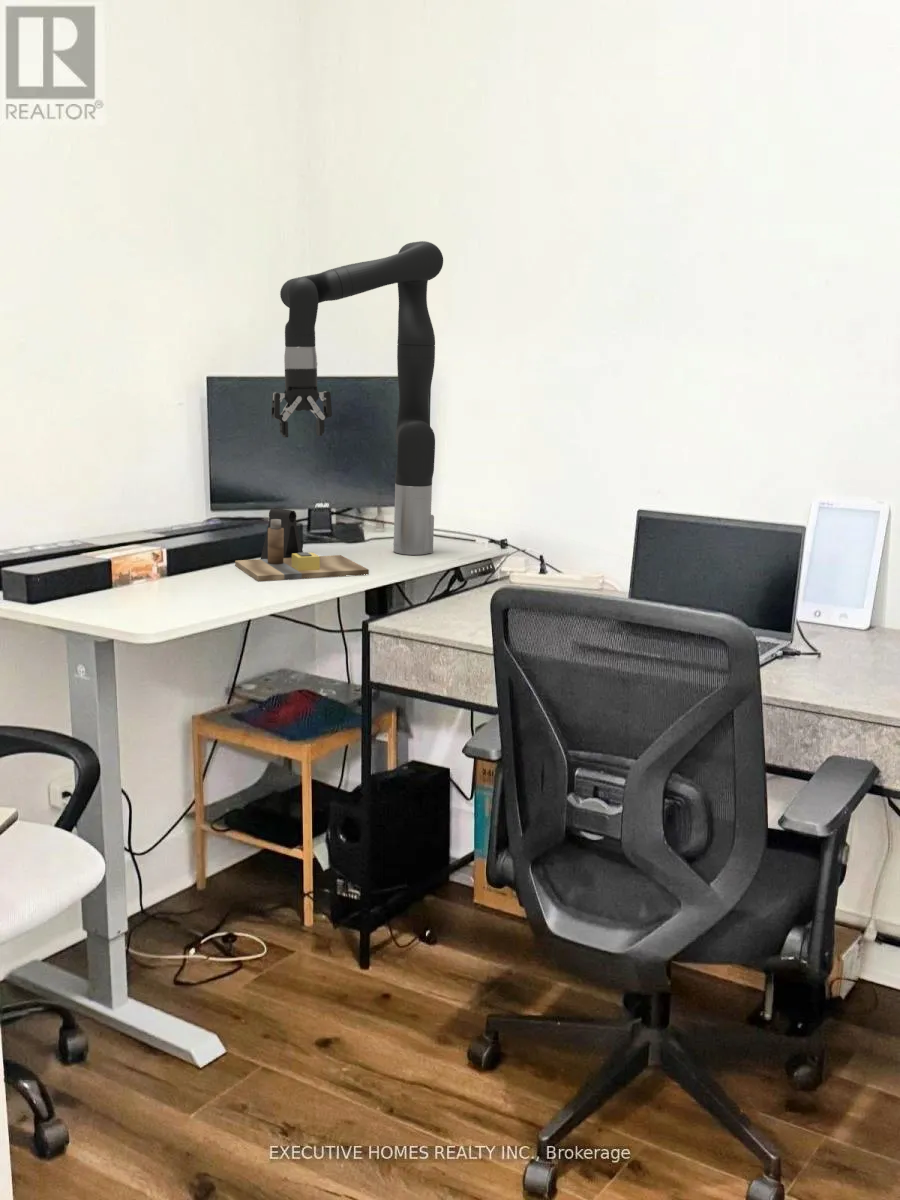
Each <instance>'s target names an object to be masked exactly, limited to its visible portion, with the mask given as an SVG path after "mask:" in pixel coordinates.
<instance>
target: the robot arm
mask: <svg viewBox="0 0 900 1200" xmlns="http://www.w3.org/2000/svg"><path fill="white" fill-rule="evenodd" d="M443 266H444V255H443V253H442V251H441V249H440V247H438V246H437V245H436V244H434V243H432V242H429V241H427V240H426V241H425V240H422V241H421V240H420V241H413V242H409V243H406V244H405V245H403V246H401V248H400V249H399V251H398V253H396V254H393V255H390V256H386V257H381V258H378V259H372V260H366V261H361V262H356V263H351V264H346V265H341V266H337V267H334V268H331V269H328V270H324V271H322V272H319V273H315V274H309V275H305V276H299V277H294V278H291V279H288V280H287V281H286V282H284V283H283V284H282V286H281V289H280V291H279V292H280V293H279V295H280V300H281V302H282V303H283V304H284V305H285V306H286V307H287V308H288V310H289V311H288V320H287V322H286V323H285V325H284V346H285V347H284V355H283V356H284V361H283V363H284V389H285V390H284V393H283V392H275V391H274V392H272V393H271V414H270V415H271V418H272V419H276V420H278V421H279V433H280V435H281V436H282V437H283V438H286V439H287V438H289V422H288V419H289V417H291V415H292V414H293V413H294V411H295V412H301V411H310V412H311V413H312V414H313V415H314V416H315V417H316V420H315V429H316V430H315V431H316V436H318V437H322V436H323V434H325V420H326V419H328V418H331V417H332V416H333V412H332V411H333V410H332V397H331V392H330V391H326V390H323V391H321V392H320V391H318V356H317V350H316V328H315V327H316V322H317V317H318V309H319V304H321V303H323V302H330V301H331V302H332V301H333V302H334V301H338V300H341V299H346V298H349V297H353V296H355V295H356V296H357V295H359V294H363V293H366V292H369V291H372V290H375V289H379V288H381V287H385V286H390V285H394V284H397V293H398V312H397V313H398V315H397V316H398V317H397V324H398V325H397V341H396V342H397V350H396V353H397V354H396V356H397V359H396V360H397V361H396V362H397V382H398V384H397V385H398V399H399V402H398V410H397V411H398V412H397V420H396V429H395V433H394V434H395V438H394V439H395V443H396V445H397V453H396V454H397V458H396V472H395V475H394V477H395V480H394V481H395V483H394V485H395V486H394V517H393V519H394V521H393V522H394V523H393V552H394V553H396V554H401V555H411V556H412V555H414V556H416V555H417V556H418V555H419V556H420V555H427V554H431V553H434V528H435V516H434V514H432V500H433V499H432V496H433V492H432V491H433V479H434V478H433V477H434V470H435V458H436V457H435V456H436V436H435V432H434V430H433V428H432V427H431V425H430V414H429V413H430V412H429V397H430V391H431V386H432V381H433V377H434V370H435V361H436V359H435V358H436V356H435V355H436V336H435V332H434V326H433V323H432V320H431V317H430V314H429V313H430V312H429V308H428V297H427V296H428V282H429V281H431V280H433V279H434V278H435V277H437V276H438V275H439V274H440V272H441V270H443ZM319 398H320V401H322V410H321V408H320V406H318V404H317V402H318V400H319ZM283 399H284V400H285V402H286V404H285V406H284V407H283V409H282V412H281V403H282V402H283ZM322 411H323V412H322ZM280 412H281V413H280Z"/></svg>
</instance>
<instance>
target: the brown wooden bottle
mask: <svg viewBox="0 0 900 1200" xmlns="http://www.w3.org/2000/svg"><path fill="white" fill-rule="evenodd" d="M267 529H268V563H269V564H283V561H284V528H281V520H280V519H271V528H268V527H267Z"/></svg>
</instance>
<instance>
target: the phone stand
mask: <svg viewBox="0 0 900 1200" xmlns="http://www.w3.org/2000/svg"><path fill="white" fill-rule="evenodd" d="M271 519H280V520H281V528H284V558H292V553H302V552H304V550H303V546H302V542H301V537H300V534H299V533H300V532H299V530H298V525H297V513H296V511H295V510H292V509H291V510H290V509H286V508H285V509H283V508H276V507H274V508H270V509H269V513H268V520H269V521H268V525H267V529H266V533H265V537H264V542H263V547H262V550H261V554H260V555H261V556H260V559H268V528H271Z"/></svg>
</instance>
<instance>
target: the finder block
mask: <svg viewBox="0 0 900 1200" xmlns="http://www.w3.org/2000/svg"><path fill="white" fill-rule="evenodd" d="M320 556H321V555H320ZM320 556H319V554H316V553H314V552H307V551H303V552H302V553H292V567H293V568H295V569H296V570H298V571H303V570H320Z"/></svg>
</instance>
